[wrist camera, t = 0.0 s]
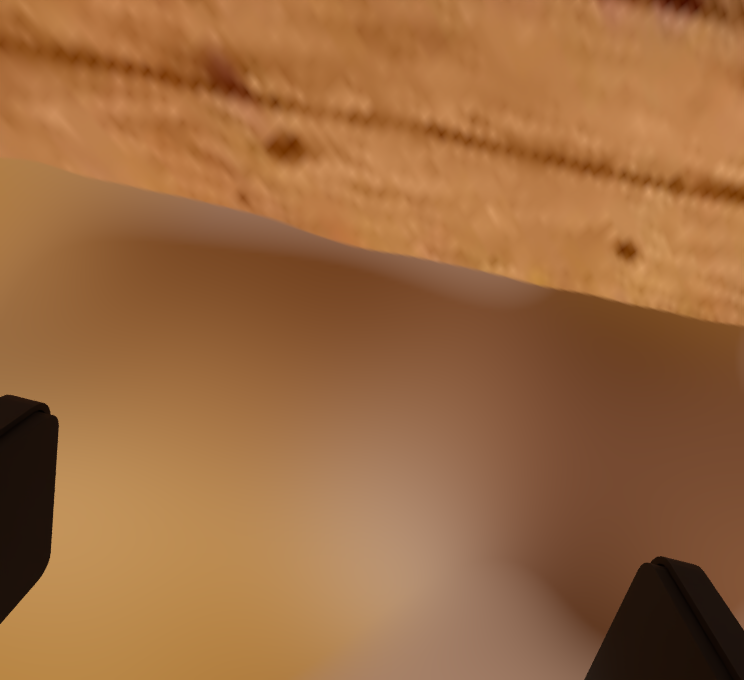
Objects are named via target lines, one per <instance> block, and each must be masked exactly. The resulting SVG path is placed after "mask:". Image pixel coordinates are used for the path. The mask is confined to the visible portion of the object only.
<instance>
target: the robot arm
mask: <svg viewBox="0 0 744 680" xmlns="http://www.w3.org/2000/svg"><path fill="white" fill-rule="evenodd" d="M58 424H59V423H58V419H57V417H56V416H54V415H50V410H49V407H48V405H46V404H45V403H41V402H37V401H33V400H29V399H25V398H21V397H17V396H13V395H5V396H2V397H0V624H1V623H2V621H3V620H4V619H5V618H6V617H7V616H8V615H9V613H10V612H11V611H12V610H13V609H14V608H15V607H16V605H17V604H18V603H19V602H20V601H21V600H22V598H23V597H24V596H25V595H26V594H27V593H28V592H29V590H30V589H31V588H32V587H33V586H34V585H35V583H36V582H37V581H38V580H39V579H40V577H41V576H42V574H43V573H44V571H45V569H46V567H47V565H48V562H49V558H50V553H51V538H52V523H53V507H54V492H55V476H56V460H57V443H58V428H59V425H58ZM584 680H744V630H743V628H742V627H741V626H740V624H739V623H738V621H737V620H736V618H735V617H734V615H733V614H732V612H731V611H730V609H729V608H728V606H727V605H726V603H725V602H724V601H723V599H722V597H721V596H720V595H719V593H718V592H717V590H716V589H715V587H714V586H713V584H712V583H711V581H710V580H709V578H708V577H707V575H706V574H705V573H704V571H703V570H702V569H701V568H700V567H699V566H697V565H694V564H690V563H686V562H682V561H678V560H674V559H670V558H666V557H662V556H660V557H656V558H655V559H653V560H652V561H651V563H644V564H642V565H641V566H640V568H639V569H638V572H637V573H636V575H635V577H634V579H633V582H632V583H631V586H630V587H629V590H628V592H627V594H626V596H625V598H624V600H623V602H622V604H621V606H620V608H619V610H618V612H617V614H616V616H615V618H614V620H613V622H612V624H611V627H610V628H609V630H608V633H607V634H606V637H605V639H604V641H603V643H602V645H601V647H600V649H599V651H598V653H597V655H596V657H595V659H594V661H593V663H592V665H591V667H590V669H589V672H588V673H587V676H586V678H585V679H584Z"/></svg>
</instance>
